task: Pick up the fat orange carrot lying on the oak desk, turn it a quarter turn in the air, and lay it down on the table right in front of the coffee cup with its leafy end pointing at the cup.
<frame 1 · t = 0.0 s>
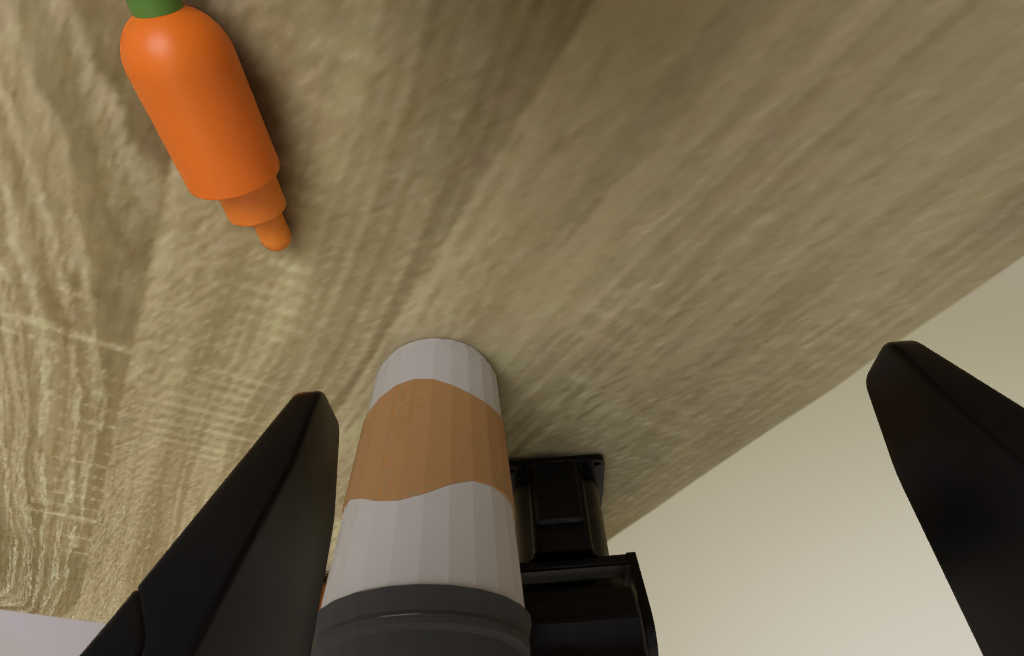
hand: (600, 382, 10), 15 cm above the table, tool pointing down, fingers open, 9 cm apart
carrot: (231, 118, 21), on the table
coffee cup: (437, 372, 32), on the table
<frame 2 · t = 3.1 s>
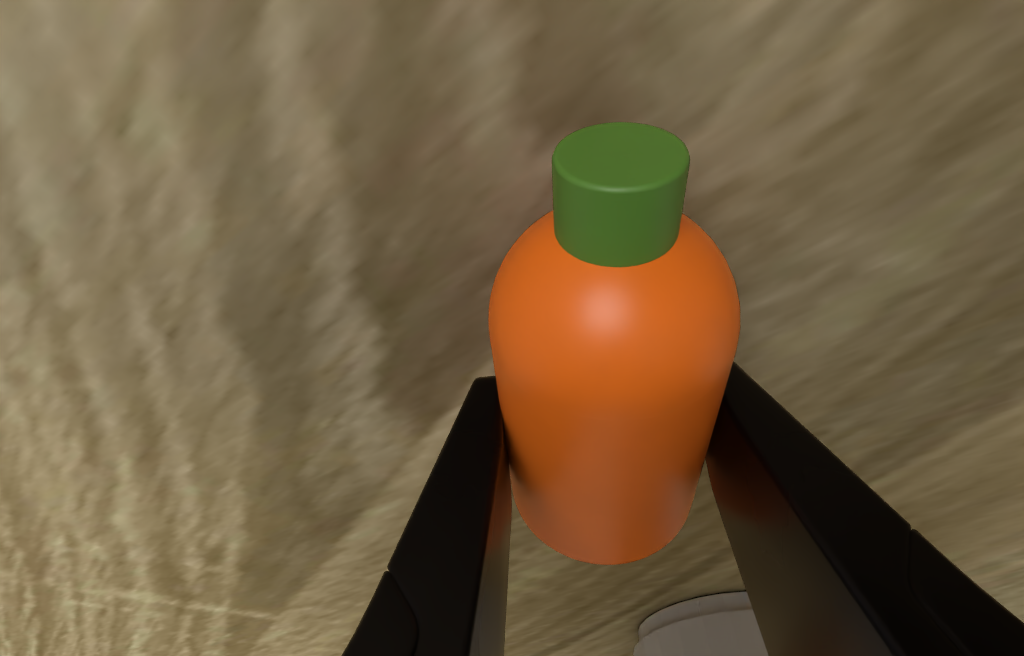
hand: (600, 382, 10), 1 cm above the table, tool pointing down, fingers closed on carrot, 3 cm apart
carrot: (586, 360, 11), on the table, touching gripper
coffee cup: (716, 617, 21), on the table
when the fingers open (1 cm above the table, at t = 10.2 s): carrot stays where it is, on the table.
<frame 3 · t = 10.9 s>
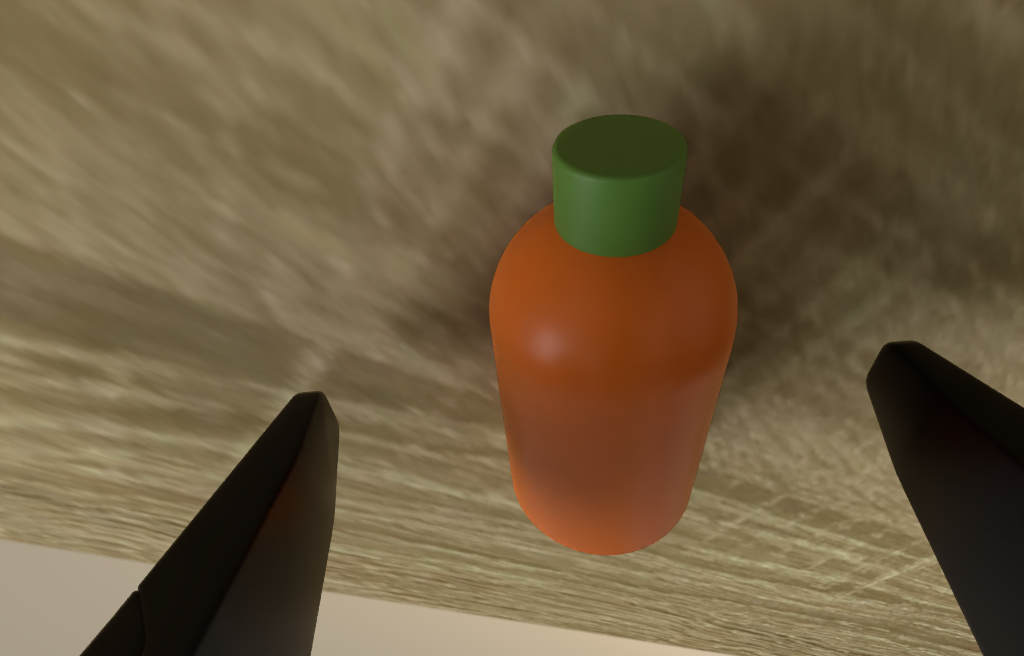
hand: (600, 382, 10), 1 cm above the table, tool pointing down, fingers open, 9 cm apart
carrot: (586, 353, 11), on the table
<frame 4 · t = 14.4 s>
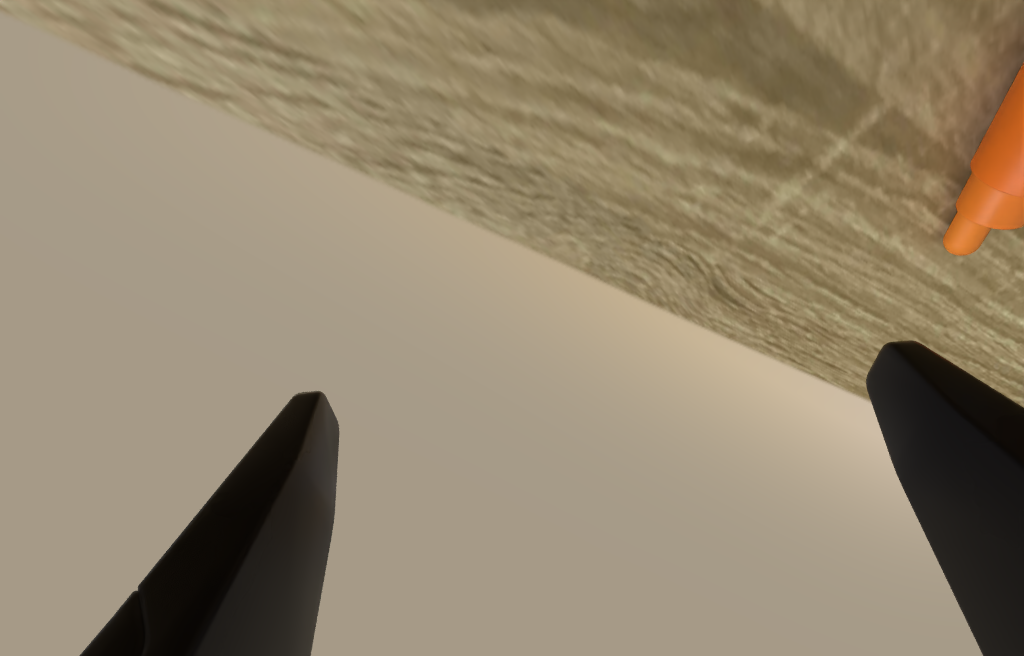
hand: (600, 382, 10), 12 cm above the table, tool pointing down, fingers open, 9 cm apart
carrot: (1021, 112, 19), on the table
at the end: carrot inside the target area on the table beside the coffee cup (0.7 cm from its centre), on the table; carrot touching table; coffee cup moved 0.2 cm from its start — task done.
